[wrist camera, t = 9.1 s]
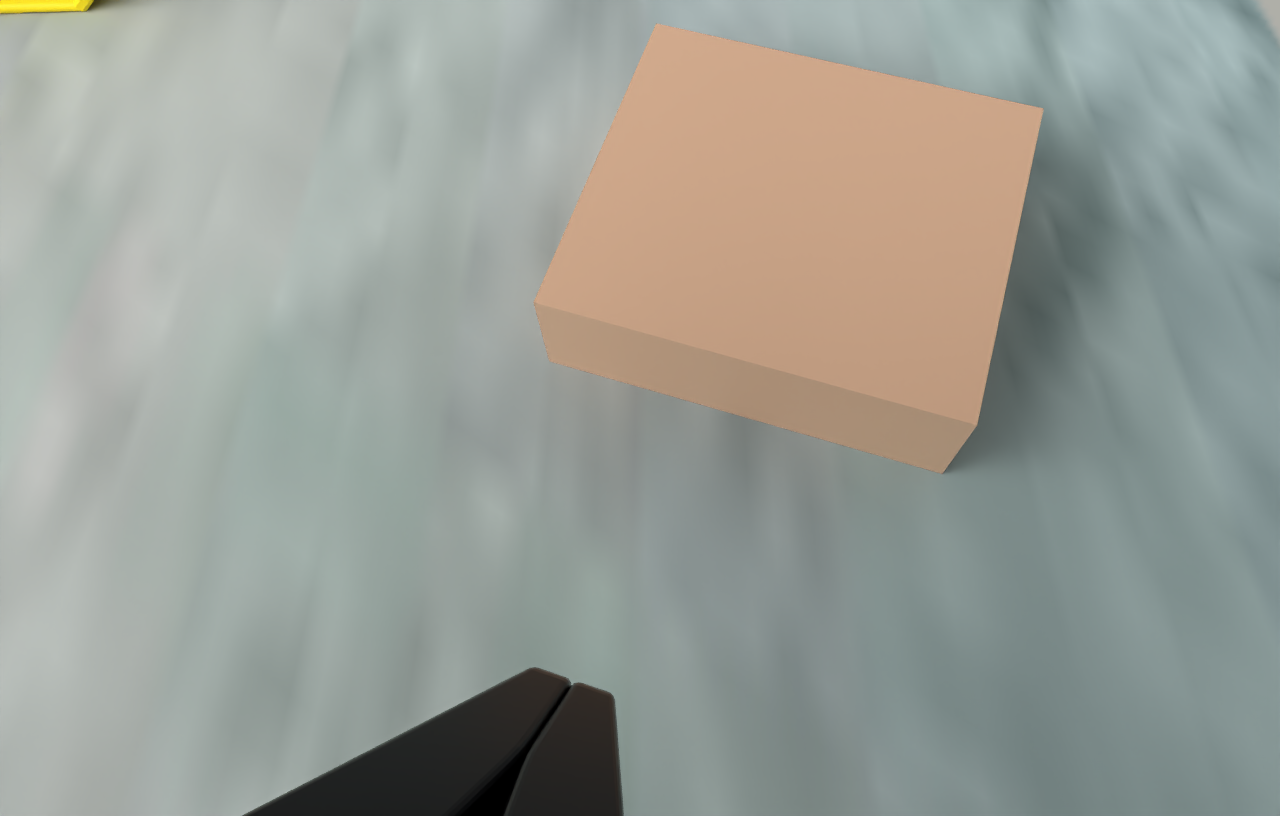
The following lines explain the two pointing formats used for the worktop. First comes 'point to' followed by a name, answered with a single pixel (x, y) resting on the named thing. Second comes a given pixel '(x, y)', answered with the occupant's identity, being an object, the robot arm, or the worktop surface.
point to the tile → (796, 245)
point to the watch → (43, 5)
